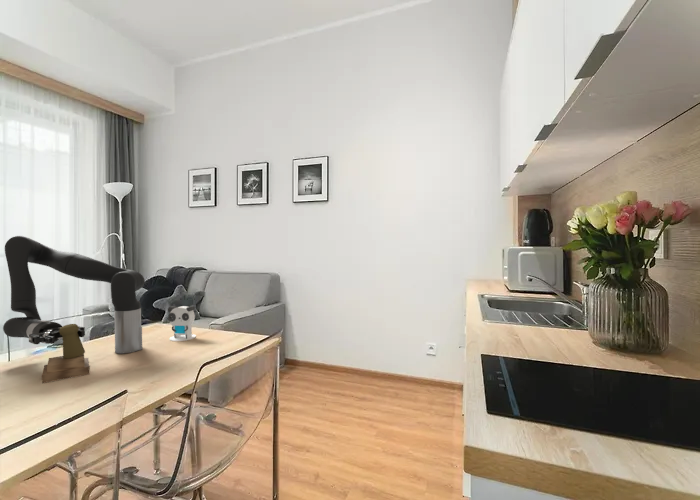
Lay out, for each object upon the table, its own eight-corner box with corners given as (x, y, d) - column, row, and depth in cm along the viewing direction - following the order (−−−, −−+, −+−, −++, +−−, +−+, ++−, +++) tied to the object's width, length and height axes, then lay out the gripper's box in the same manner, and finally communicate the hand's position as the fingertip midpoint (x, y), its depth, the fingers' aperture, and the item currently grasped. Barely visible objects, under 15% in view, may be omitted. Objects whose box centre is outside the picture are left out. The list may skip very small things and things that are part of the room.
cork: (72, 358, 115) (66, 328, 113) (58, 358, 116) (52, 328, 114) (89, 351, 121) (83, 321, 119) (76, 350, 122) (69, 321, 120)
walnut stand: (88, 364, 124) (88, 350, 124) (89, 374, 115) (89, 359, 115) (44, 372, 116) (44, 357, 116) (41, 383, 107) (41, 367, 107)
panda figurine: (162, 340, 154) (161, 308, 154) (178, 334, 165) (178, 303, 165) (186, 341, 152) (185, 309, 152) (200, 335, 164) (200, 304, 163)
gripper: (18, 325, 115) (42, 331, 108) (68, 317, 128) (92, 321, 121) (19, 347, 115) (42, 354, 108) (68, 336, 128) (92, 342, 121)
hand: (68, 337), depth 115 cm, fingers open, 8 cm apart
